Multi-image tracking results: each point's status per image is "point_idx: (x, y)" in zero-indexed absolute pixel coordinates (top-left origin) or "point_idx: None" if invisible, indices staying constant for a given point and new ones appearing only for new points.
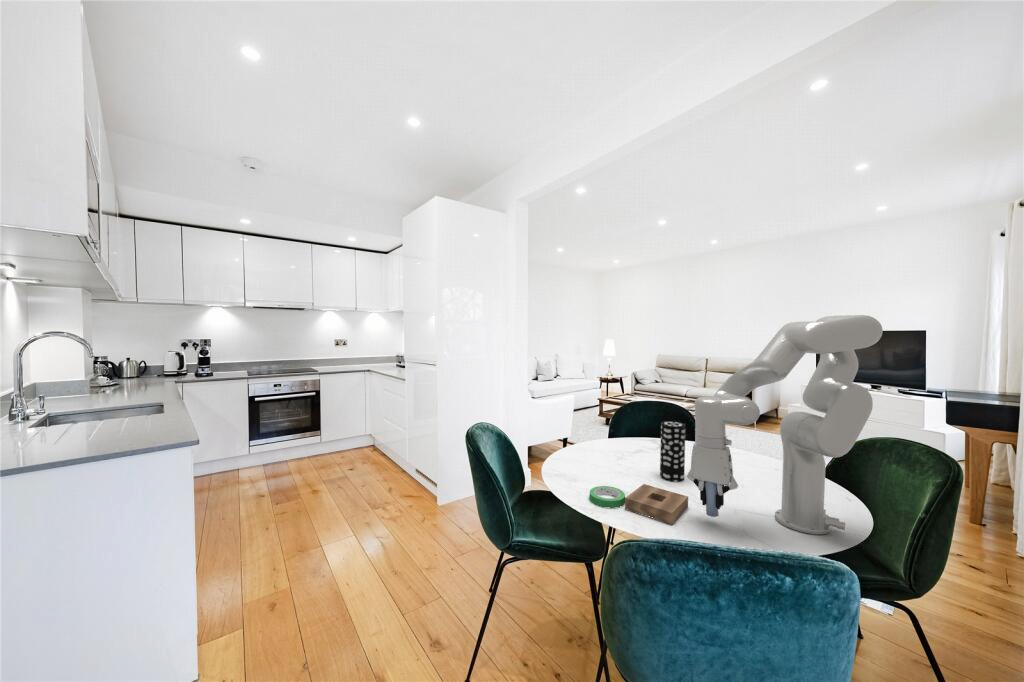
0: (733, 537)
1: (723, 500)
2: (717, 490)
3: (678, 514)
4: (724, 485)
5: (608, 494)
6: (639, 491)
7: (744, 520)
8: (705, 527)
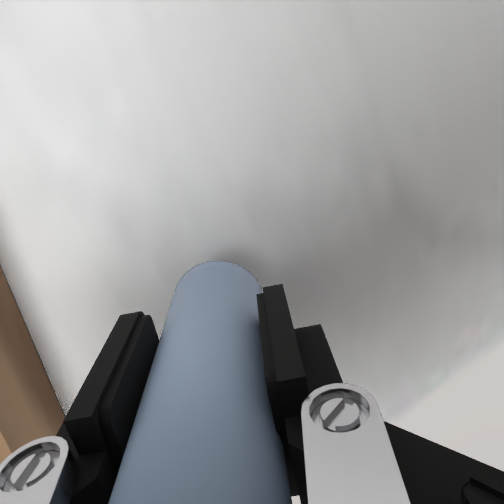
0: (382, 333)
1: (328, 349)
2: (288, 483)
3: (42, 408)
4: (404, 485)
5: None
6: None
7: (358, 14)
8: None
